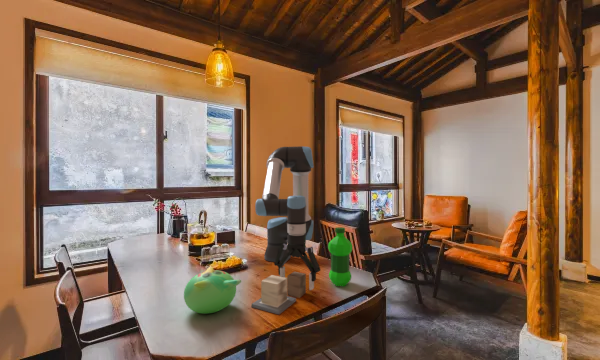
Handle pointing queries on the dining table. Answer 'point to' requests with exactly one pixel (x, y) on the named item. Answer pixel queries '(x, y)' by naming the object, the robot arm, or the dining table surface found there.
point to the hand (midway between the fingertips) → (296, 285)
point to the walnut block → (296, 284)
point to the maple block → (274, 290)
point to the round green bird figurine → (210, 291)
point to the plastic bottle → (340, 258)
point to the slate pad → (272, 308)
